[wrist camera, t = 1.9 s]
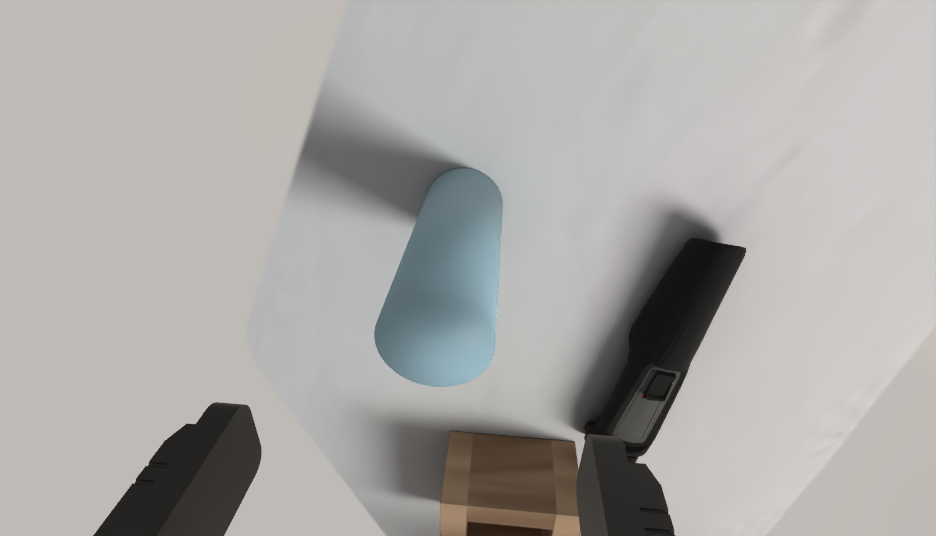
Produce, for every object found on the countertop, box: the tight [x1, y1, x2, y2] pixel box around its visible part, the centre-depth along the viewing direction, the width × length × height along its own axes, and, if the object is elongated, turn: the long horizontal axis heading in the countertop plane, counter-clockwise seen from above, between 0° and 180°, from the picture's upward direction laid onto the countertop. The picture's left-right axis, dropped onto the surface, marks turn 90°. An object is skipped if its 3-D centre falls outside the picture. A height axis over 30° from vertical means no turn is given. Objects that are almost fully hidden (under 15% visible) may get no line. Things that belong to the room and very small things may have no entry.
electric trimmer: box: [584, 238, 746, 463], centre depth 25 cm, size 4×16×3 cm, turn 170°
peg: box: [375, 168, 502, 387], centre depth 19 cm, size 4×4×10 cm
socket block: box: [440, 431, 580, 536], centre depth 31 cm, size 8×8×5 cm
